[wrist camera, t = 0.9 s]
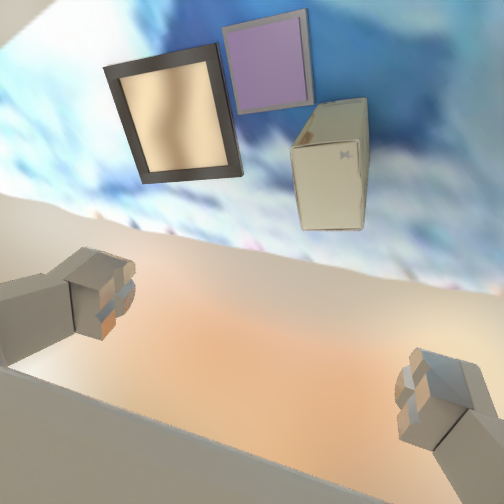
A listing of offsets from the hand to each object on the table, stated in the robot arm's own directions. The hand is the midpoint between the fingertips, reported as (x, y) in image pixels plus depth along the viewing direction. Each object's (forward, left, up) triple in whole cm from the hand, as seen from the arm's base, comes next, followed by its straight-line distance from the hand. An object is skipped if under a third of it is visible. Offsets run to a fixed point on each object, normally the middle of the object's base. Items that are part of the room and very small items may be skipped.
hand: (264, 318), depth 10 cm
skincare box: (0, +2, -27) cm, 27 cm away
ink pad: (+6, -5, -27) cm, 28 cm away
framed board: (+17, -1, -27) cm, 32 cm away
